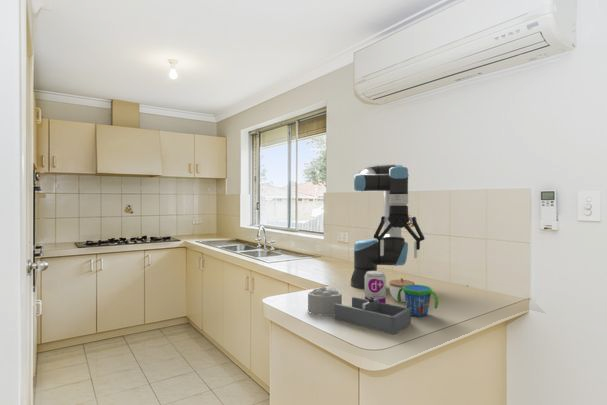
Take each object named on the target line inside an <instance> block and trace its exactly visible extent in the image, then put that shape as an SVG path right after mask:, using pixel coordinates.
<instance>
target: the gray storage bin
mask: <svg viewBox="0 0 607 405" xmlns="http://www.w3.org/2000/svg"><path fill="white" fill-rule="evenodd" d="M366 302H368V300H367V299H365V298H360V297H356V296H352V297H351V306H349V305H345V304H342V305H341V304H337V303H336V304H335V314H334V320H337V321H341V322H345V323H349V324H353V325H355V326H357V325H358V326H360V327H364V328H367V327H368V328H369V329H371V328H372V329H371V330H376V331H379V332H383V331H384V333H388V334H390V333H391V334H392V335H395V334H397V333H399V332H400V331H403V330H404V329H405V328H408V327H409V326H410V325H411V324H412V315H411V309H410V308H407V306H406V307H405V306H400V305H396V304H390V303H381V302H379V313H376V312H372V311H368V310H363V309H362V304H364V303H366Z"/></svg>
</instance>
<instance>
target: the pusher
mask: <svg viewBox="0 0 607 405" xmlns="http://www.w3.org/2000/svg"><path fill="white" fill-rule="evenodd" d="M362 309H363V310H368V311H372V312H376V313H379V298H375V299H374V298H373V297H369V298H368V302H366V303H364V304H362Z"/></svg>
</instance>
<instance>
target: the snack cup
mask: <svg viewBox="0 0 607 405" xmlns="http://www.w3.org/2000/svg"><path fill="white" fill-rule="evenodd" d="M402 290H403V291H404V293H405V300H406V302H405V305H406V308H410V309H411V316H417V317H424V316H427V315H428V313H429V307H430V299H431V295H432V296H433V297H434V300H435V302H434V309H435V310H436V309H438V307H439V298H438V295H437V293H436V292H435V291H434V290H433V289H432V287H430V286H428V285H423V284H415V285H406V286H404V287H403V288H401V289H400V290H399V292H398V297H397V299H398V301H397V302H399V303H400V302H401V295H400V293H401V291H402ZM401 303H402V302H401Z"/></svg>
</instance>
